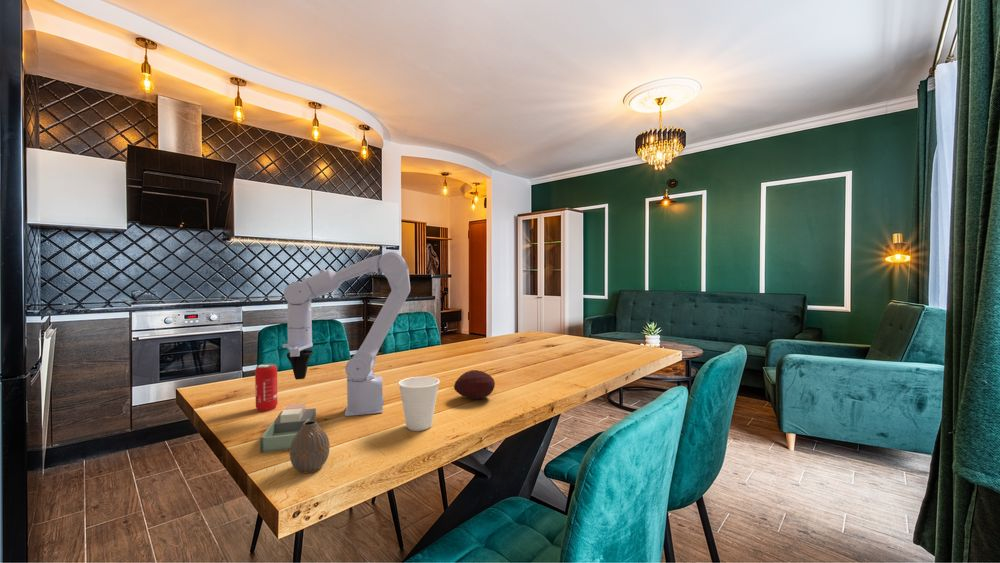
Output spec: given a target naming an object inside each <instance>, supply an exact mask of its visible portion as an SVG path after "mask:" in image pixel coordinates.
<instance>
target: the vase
mask: <svg viewBox="0 0 1000 563" xmlns="http://www.w3.org/2000/svg"><path fill="white" fill-rule="evenodd" d="M330 447H331V446H330V440H329V437H328V435H327V433H326V432H325V431H324V430H323V428H321V427H320V425H319V423H318V422H317V420H315V421H307V422H304V423H303V425H302V427H301V429H300V430H299V432H298V433H297V434H296V435H295V437H294V438H293V440H292V443H291V446H290V450H289V459H290V463H291V465H292V468H294V469H295V470H296V471H297V472H299V473H301V474H310V473H314V472H317V471H318V470H320V469H322V467H323V466H324V465H325V464H326V462H327V460H328V458H329V456H330Z"/></svg>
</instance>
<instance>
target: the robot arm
mask: <svg viewBox="0 0 1000 563" xmlns="http://www.w3.org/2000/svg"><path fill="white" fill-rule="evenodd" d="M318 272H319V273H316V274H313V275H312V276H309V277H307V276H303V277H301V281H292V282H291V283H289V284H287V285H286V287H285V288H284V291H283V296H284V298H285V300H286V301H287V310H286V311H287V316H286V317H287V318H286V319H287V320H286V321H287V343H284V344H282V348H283V349H287V350H289V352H287V353H286V358H287V359H288V361H289V362H290V364H291V368H292V372H293V376H294V379H295V380H297V381H298V380H305V379H306V376H307V371H308V367H309V366H308V364H309V362H310V358H311V356H312V354H313V352H314V350H313V349H310V348H312V347H313V345H314V343H313V329H312V327H313V324H312V321H313V319H312V300H313V299H317V298H319V297H323V296H325V295H327V294H329V293H333V292H335V291H337V290H339V288H340V286H341V284H342V283H345V282H346V281H349V280H352V279H354V278H357V277H360V276H362V275H365V274H368V273H381V274H383V275H384V277H385V278H386V279H387V282H388V285H389V287H390V289H391V291H390V293H389V294H388V296H387V298H386V300H385V302H384V303H383V305H382V307H381V309H380V311H379V312H378V314H377V317H376V318H375V320H374V322H373V323H372V325H371V328H370V329H369V332H368V333H367V335H366V337H365V338H364V340H363V342H362V343H361V345H360V347H359V348H358V350H357V352H355V354H354V355H353V356H352V357H351V358H350V359H349V360H348V361H347V363H346V364H345V374H346V406H345V411H344V417H350V416H361V415H373V414H382V413H383V408H384V407H383V406H384V404H385V401H384V400H385V397H384V396H383V376H376V373H374V371H373V369H374V367H375V366H376V365H375V364H376V357H377V354H378V352H379V351H380V348H381V347H382V345H383V343H384V340H385V339H386V337H387V335H388V333H389V331H390V329H391V328H392V326H393V324H394V322H395V321H396V319H397V317H398V315H399V314H400V311H401V310H402V308H403V306H404V304H405V302H406V300H407V298H408V296H409V294H410V293H411V282H410V270H409V266H408V264H407V262H406V260H405V258H404V257H403V256H402V254H399V253H397V252H395V251H389V252H385V253H384V254H378V255H374V256H370V257H367V258H365V259H363V260H361V261H359V262H356V263H353V264H352V265H350V266H347V267H344V268H342V269H340V270H337V271H334V270H333V269H327V270H326V269H324V268H323V269H320V270H318Z"/></svg>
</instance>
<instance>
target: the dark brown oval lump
mask: <svg viewBox="0 0 1000 563" xmlns="http://www.w3.org/2000/svg"><path fill="white" fill-rule="evenodd" d="M495 385H496V383H495V379H494V378H493V377H492V376H491V374H489V373H487V372H485V371H482V370H476V369H474V370H473V369H471V370H469V371H466V372H465V371H464V373H463V374H461V375H460V376H459V377H458V378H457V379H456V381H455V382H454V385H453V389H454V391H455V392H456V393H457V394H459V395H460V396H462V397H463V398H466V399H469V400H480V399H483V398H486V397H488V396H490V395H491V394H492V393H493V391H494V390H495Z"/></svg>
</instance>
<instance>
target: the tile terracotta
mask: <svg viewBox="0 0 1000 563" xmlns="http://www.w3.org/2000/svg"><path fill="white" fill-rule="evenodd" d="M306 404H307V403H306V402H299V403H298V402H296V403H288V404H286V406H285V408H284V410H287V409H299V408H302V409H303V414H304V412H305V410H306V409H307V406H306Z"/></svg>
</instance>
